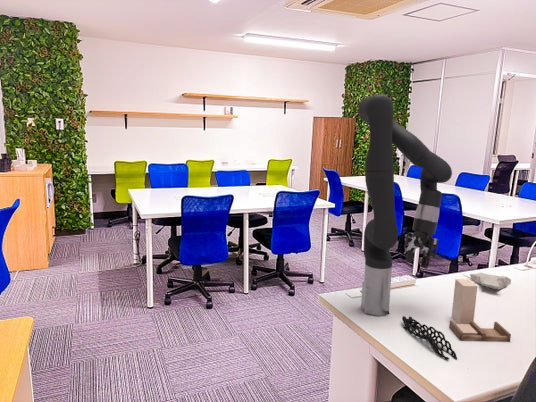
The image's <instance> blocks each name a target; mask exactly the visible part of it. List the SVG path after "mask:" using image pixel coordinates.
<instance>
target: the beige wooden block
mask: <svg viewBox="0 0 536 402" xmlns="http://www.w3.org/2000/svg"><path fill="white" fill-rule="evenodd" d="M477 293H478V285H477V284H475V282H473V281H472V280H470V279H469V278H455V279H454V290H453V301H452V308H451V318H452V320H453V321H454V322H455V324H469V325H470V321H474V319H475V312H476V311H475V310H476V302H477ZM474 322H475V321H474Z"/></svg>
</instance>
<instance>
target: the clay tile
mask: <svg viewBox="0 0 536 402" xmlns="http://www.w3.org/2000/svg"><path fill="white" fill-rule="evenodd" d="M455 325H456V326H457V327H458V328H459V329H460V330H461V331H462V332H463V335H478V333H477V332H476V331H475V330H474V329H473V328H472V327H471V326H470V325H469V324H457V323H455Z"/></svg>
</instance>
